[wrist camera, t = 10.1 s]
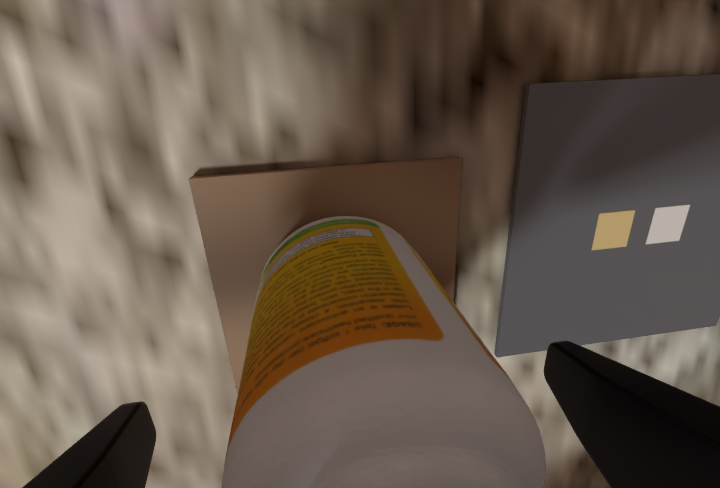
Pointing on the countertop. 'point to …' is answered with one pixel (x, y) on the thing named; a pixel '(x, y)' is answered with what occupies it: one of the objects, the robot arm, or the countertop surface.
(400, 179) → the walnut coaster
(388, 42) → the countertop surface
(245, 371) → the supplement bottle
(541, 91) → the mat
